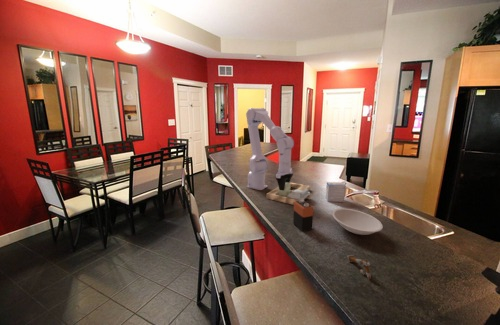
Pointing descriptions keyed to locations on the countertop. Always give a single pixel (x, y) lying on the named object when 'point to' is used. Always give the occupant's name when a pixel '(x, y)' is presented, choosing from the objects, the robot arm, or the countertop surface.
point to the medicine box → (335, 192)
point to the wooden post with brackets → (365, 263)
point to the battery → (303, 215)
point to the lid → (299, 194)
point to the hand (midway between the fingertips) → (283, 188)
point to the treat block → (285, 191)
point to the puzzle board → (275, 196)
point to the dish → (357, 221)
